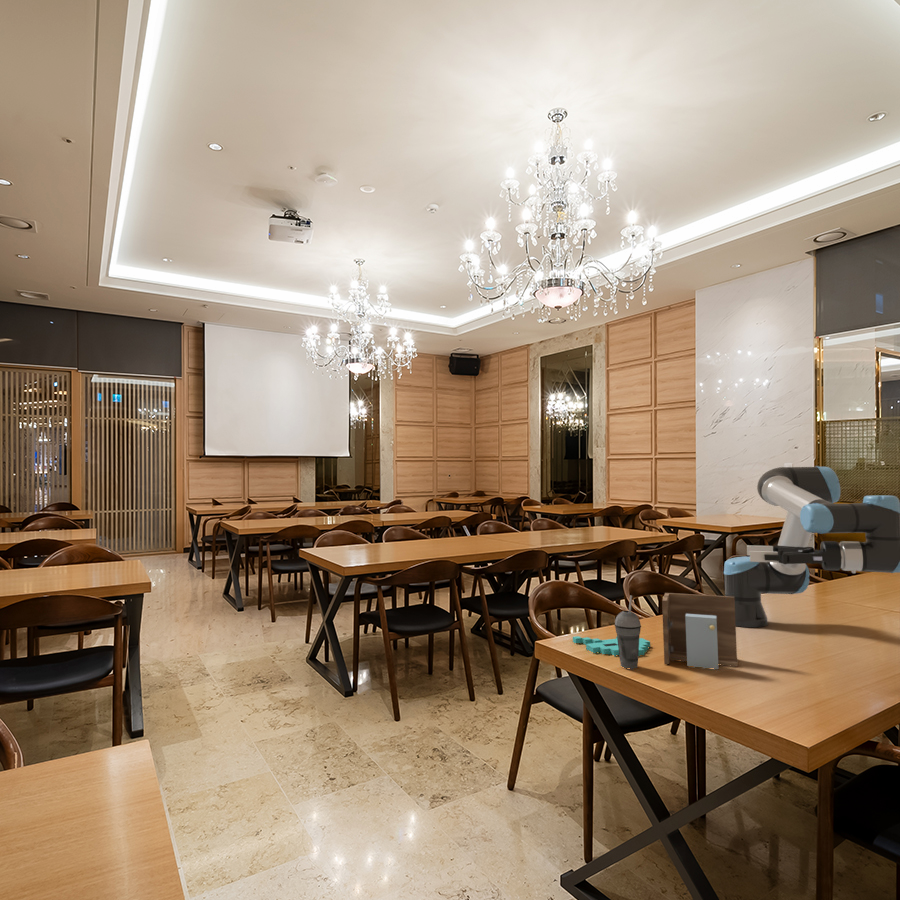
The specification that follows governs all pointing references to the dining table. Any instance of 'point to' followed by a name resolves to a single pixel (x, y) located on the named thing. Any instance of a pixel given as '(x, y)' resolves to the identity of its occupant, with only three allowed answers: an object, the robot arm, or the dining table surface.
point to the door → (701, 641)
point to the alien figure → (608, 645)
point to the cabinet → (685, 604)
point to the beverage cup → (628, 637)
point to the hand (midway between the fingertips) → (748, 553)
